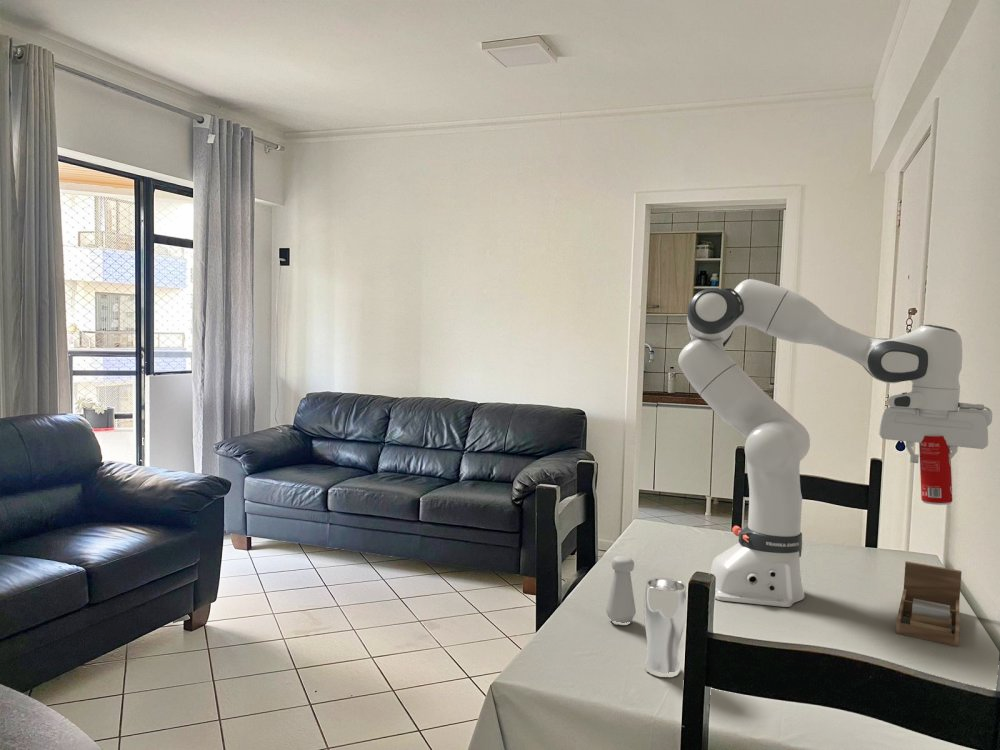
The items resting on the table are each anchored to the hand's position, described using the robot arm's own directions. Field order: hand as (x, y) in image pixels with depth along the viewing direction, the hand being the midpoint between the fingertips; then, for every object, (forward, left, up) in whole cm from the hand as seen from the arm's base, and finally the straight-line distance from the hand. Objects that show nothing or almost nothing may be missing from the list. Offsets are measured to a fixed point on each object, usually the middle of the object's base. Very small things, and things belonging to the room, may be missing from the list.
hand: (929, 464), depth 157 cm
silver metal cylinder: (-5, -13, -31) cm, 34 cm away
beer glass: (-64, -35, -31) cm, 80 cm away
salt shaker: (-68, -15, -31) cm, 76 cm away
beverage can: (+1, -1, -8) cm, 9 cm away
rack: (-4, -10, -31) cm, 33 cm away
